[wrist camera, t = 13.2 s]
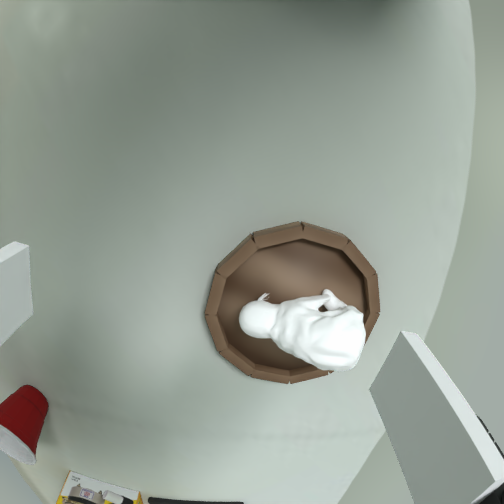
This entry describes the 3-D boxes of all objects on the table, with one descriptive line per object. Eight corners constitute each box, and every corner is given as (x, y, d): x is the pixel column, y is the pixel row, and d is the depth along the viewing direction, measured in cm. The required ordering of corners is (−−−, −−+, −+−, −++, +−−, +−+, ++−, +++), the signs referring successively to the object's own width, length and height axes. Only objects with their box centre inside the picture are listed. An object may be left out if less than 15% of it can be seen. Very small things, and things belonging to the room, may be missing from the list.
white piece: (357, 387, 26) (228, 373, 27) (343, 339, 35) (239, 326, 35) (378, 330, 25) (236, 313, 25) (357, 290, 33) (246, 274, 33)
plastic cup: (31, 418, 41) (5, 461, 30) (2, 372, 38) (-33, 414, 27) (72, 423, 41) (47, 473, 30) (41, 373, 38) (4, 424, 26)
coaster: (234, 202, 31) (233, 205, 29) (396, 251, 33) (404, 257, 31) (194, 353, 36) (192, 363, 34) (335, 381, 38) (339, 391, 36)
